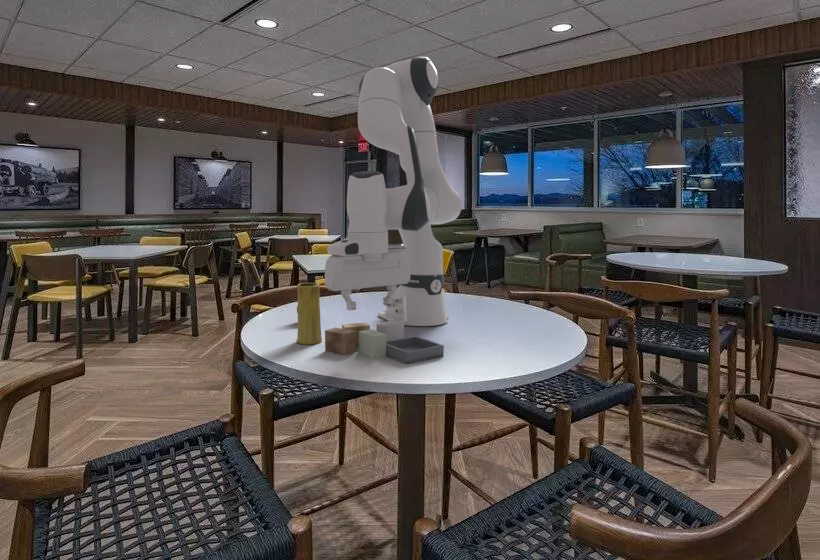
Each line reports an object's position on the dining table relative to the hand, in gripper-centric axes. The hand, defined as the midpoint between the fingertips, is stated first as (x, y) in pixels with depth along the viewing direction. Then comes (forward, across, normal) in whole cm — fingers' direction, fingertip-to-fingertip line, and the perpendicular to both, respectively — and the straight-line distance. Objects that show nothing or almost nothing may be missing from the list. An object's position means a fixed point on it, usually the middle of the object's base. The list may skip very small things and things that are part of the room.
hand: (370, 307), depth 116 cm
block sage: (+11, 0, 0) cm, 11 cm away
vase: (+10, +7, -18) cm, 22 cm away
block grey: (+11, -9, -7) cm, 16 cm away
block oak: (+11, -1, -9) cm, 14 cm away
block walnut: (+11, +5, -6) cm, 13 cm away
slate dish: (+11, -8, +5) cm, 14 cm away
